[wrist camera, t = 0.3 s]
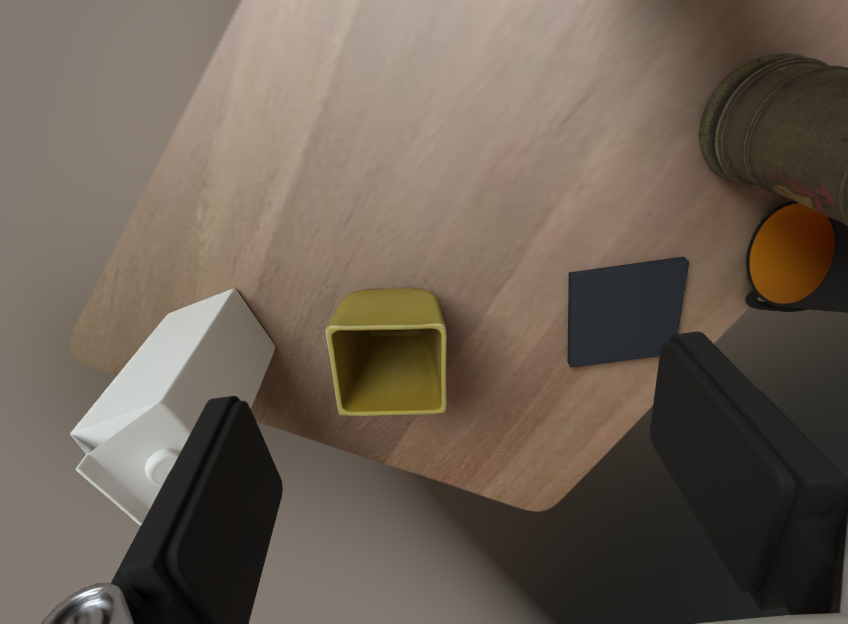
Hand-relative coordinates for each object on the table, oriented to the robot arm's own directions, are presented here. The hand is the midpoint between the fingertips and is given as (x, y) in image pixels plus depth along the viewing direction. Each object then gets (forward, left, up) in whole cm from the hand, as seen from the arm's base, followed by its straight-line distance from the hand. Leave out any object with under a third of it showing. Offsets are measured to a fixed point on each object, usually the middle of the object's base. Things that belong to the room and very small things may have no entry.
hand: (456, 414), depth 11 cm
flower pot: (+15, -5, -30) cm, 34 cm away
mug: (+16, +36, -27) cm, 48 cm away
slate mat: (+18, +16, -30) cm, 38 cm away
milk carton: (+14, -21, -30) cm, 39 cm away
